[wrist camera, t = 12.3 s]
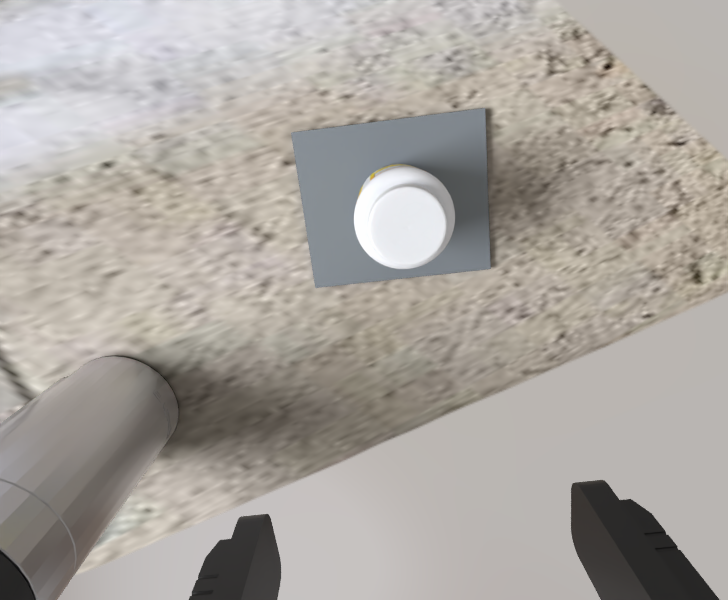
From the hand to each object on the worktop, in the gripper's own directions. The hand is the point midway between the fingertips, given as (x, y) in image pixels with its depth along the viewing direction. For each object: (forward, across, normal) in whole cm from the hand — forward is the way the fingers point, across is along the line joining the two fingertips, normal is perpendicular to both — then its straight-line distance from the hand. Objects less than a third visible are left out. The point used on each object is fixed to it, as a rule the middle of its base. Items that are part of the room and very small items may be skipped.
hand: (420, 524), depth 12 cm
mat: (+24, -1, -6) cm, 25 cm away
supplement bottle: (+24, -2, -6) cm, 24 cm away
